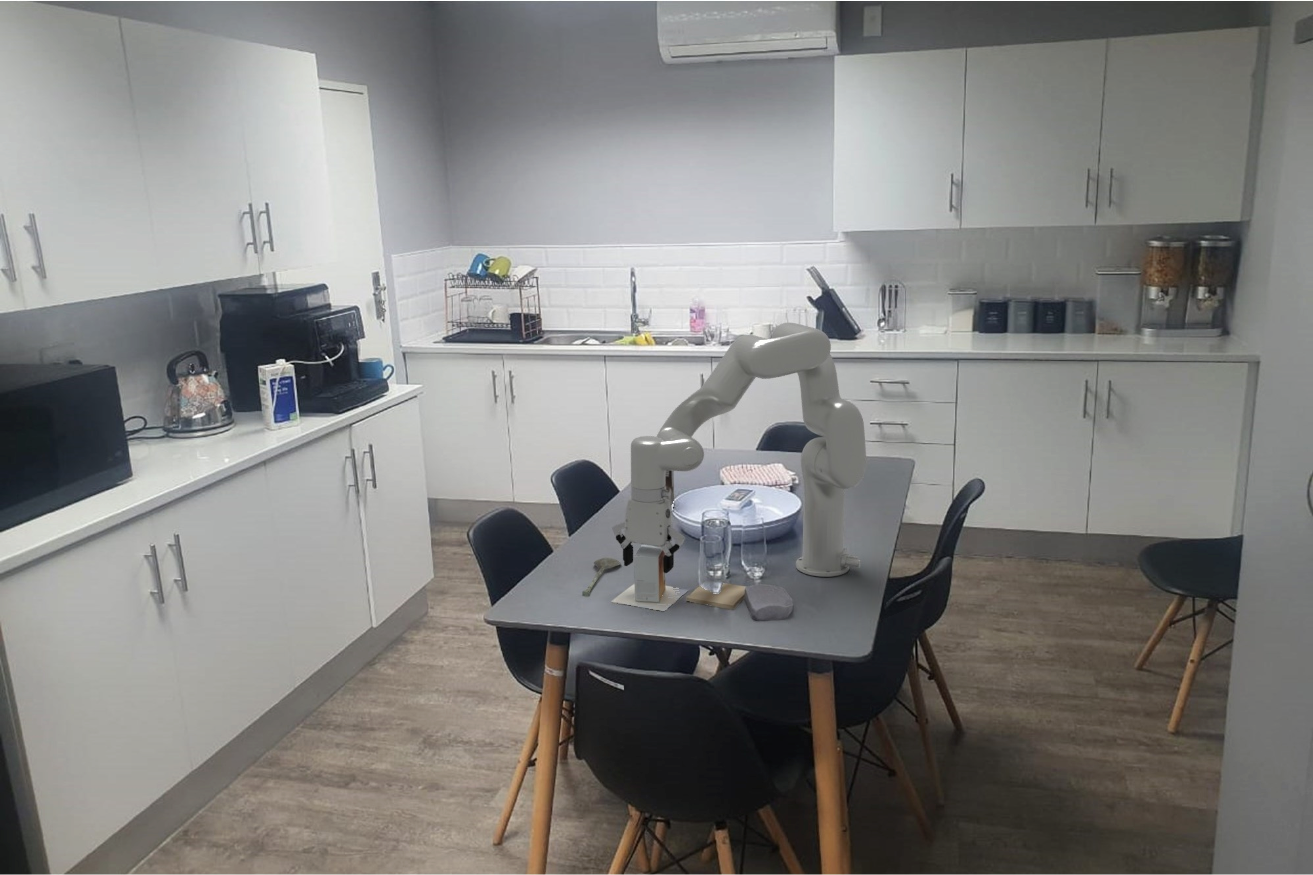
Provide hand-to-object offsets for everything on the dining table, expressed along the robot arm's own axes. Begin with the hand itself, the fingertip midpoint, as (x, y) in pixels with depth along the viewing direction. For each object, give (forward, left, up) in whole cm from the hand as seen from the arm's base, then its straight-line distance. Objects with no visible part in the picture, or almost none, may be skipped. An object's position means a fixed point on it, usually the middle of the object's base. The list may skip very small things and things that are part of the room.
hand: (648, 567), depth 218 cm
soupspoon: (+16, -5, -8) cm, 18 cm away
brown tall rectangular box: (+26, -58, -7) cm, 64 cm away
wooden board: (-14, -6, -7) cm, 17 cm away
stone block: (-27, -5, -7) cm, 28 cm away
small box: (0, 0, -7) cm, 7 cm away
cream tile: (0, 0, -7) cm, 7 cm away
